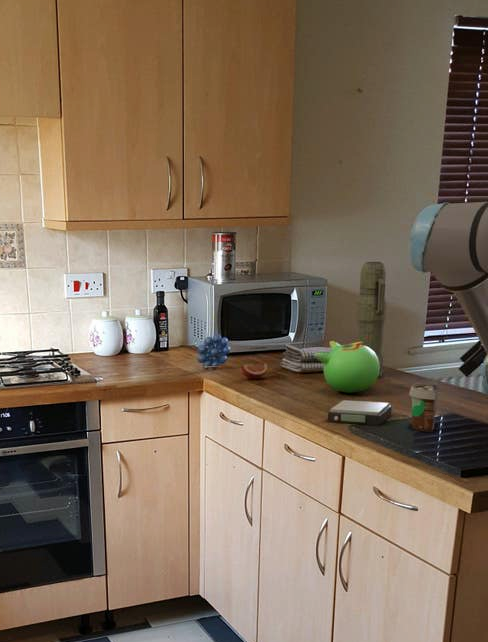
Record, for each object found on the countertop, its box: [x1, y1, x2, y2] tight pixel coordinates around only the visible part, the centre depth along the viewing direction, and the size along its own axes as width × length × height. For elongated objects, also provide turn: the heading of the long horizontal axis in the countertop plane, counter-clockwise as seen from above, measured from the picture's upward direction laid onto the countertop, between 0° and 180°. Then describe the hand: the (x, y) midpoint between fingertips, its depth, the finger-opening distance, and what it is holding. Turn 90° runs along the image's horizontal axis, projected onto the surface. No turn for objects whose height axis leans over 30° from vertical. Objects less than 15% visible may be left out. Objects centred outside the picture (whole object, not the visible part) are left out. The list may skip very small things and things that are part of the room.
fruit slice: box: [241, 362, 269, 380], centre depth 280 cm, size 8×7×5 cm
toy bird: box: [314, 340, 380, 394], centre depth 253 cm, size 18×17×15 cm
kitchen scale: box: [327, 399, 393, 426], centre depth 221 cm, size 14×13×3 cm
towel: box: [280, 343, 332, 374], centre depth 295 cm, size 15×18×8 cm
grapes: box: [196, 333, 231, 370], centre depth 301 cm, size 12×7×12 cm, turn 101°
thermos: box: [356, 261, 387, 379], centre depth 274 cm, size 9×12×35 cm
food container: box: [408, 381, 439, 433], centre depth 209 cm, size 12×6×10 cm, turn 161°
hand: (462, 367), depth 201 cm, fingers open, 13 cm apart
